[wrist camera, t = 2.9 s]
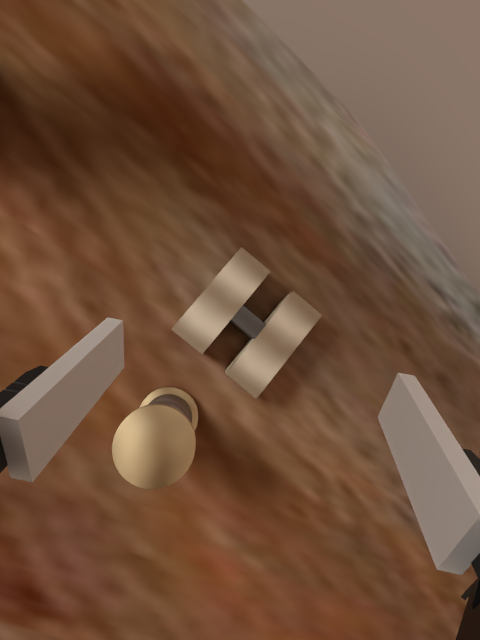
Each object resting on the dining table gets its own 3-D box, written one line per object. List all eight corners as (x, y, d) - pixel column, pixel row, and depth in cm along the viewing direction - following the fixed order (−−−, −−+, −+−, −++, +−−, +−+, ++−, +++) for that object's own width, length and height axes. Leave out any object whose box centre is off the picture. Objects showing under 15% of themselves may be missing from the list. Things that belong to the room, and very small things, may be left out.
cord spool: (147, 454, 42) (125, 501, 30) (131, 397, 42) (102, 420, 30) (205, 435, 43) (205, 472, 31) (189, 379, 43) (182, 395, 31)
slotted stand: (251, 393, 44) (256, 398, 40) (174, 330, 43) (171, 329, 39) (311, 317, 45) (322, 315, 41) (238, 254, 45) (241, 246, 41)
